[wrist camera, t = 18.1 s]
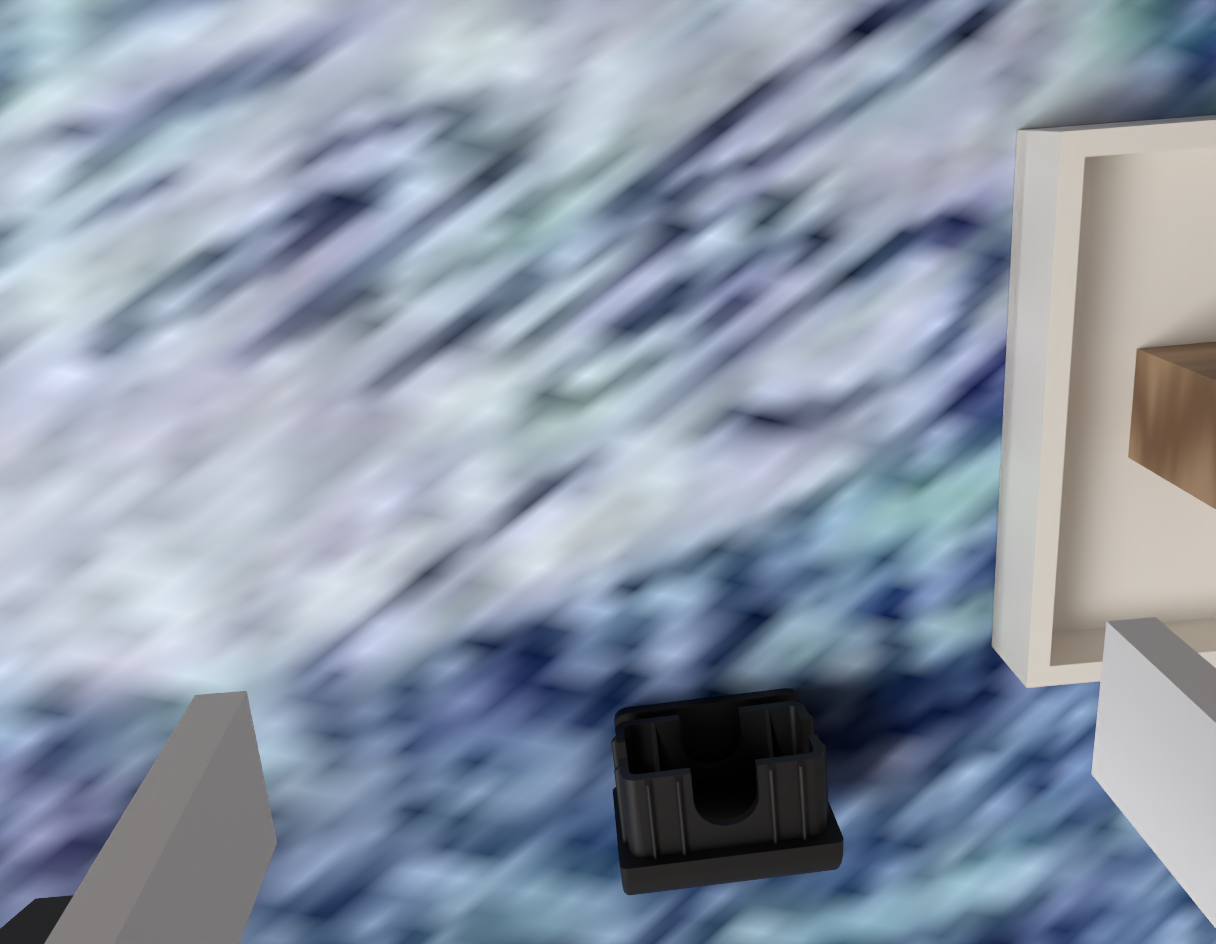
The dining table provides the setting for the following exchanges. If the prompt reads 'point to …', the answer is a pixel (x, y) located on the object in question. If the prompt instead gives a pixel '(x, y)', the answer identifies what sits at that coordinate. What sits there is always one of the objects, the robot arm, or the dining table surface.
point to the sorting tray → (1100, 392)
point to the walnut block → (1176, 416)
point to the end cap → (721, 792)
